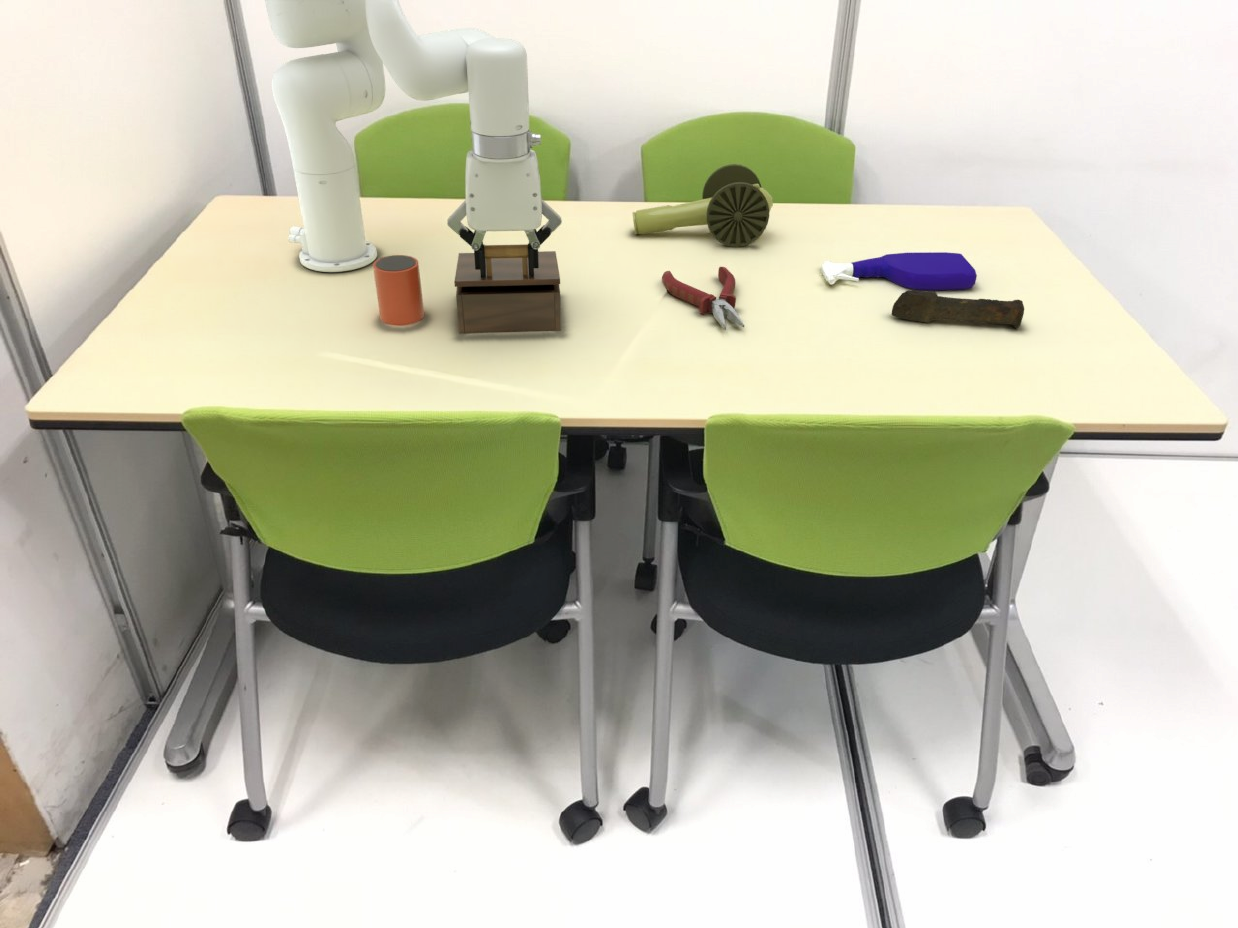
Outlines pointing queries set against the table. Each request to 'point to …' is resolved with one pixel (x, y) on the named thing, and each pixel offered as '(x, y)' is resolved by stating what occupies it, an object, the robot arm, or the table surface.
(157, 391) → the table surface
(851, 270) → the spray bottle
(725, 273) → the pliers
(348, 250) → the robot arm
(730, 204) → the cannon
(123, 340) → the table surface
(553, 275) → the lid
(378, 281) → the tin
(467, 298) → the box
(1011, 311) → the hand tool
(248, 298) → the table surface
